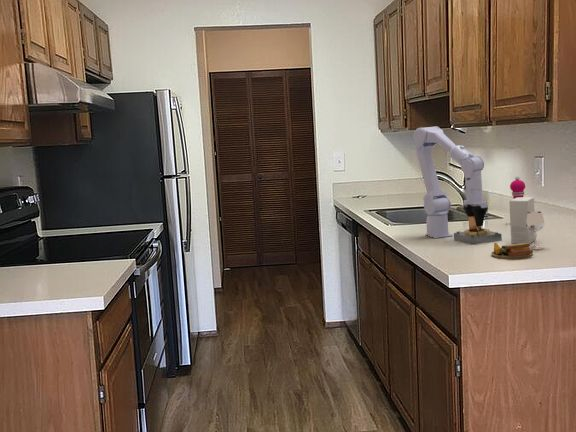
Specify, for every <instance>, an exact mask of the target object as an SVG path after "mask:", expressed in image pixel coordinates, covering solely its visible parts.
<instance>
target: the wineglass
mask: <svg viewBox="0 0 576 432" xmlns="http://www.w3.org/2000/svg"><path fill="white" fill-rule="evenodd" d="M525 224H526V227H527V229H529V230H531V231H534V237H535V241H534V245H533V246H529V249H530V250H541V249H544V247H543V246H540V245H538V244H537V237H538V233H537V232H538V231H541V230H543V228H544V227H545V218H544V214H543V212H542V211H535V210H534V212H527V214H526V220H525Z"/></svg>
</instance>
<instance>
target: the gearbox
mask: <svg viewBox="0 0 576 432" xmlns="http://www.w3.org/2000/svg"><path fill="white" fill-rule="evenodd" d="M481 229H482V231H478V232H471V231H469V228H468V229H466V230H464V231H459V230H458V231H456V232H453V240H454V239H455V241H459V242H461V243H465V244H469V245H476V244H485V243H491V242H494V243H495V242H499V241H500V242H501V241H502V240H503V239H502V237H503V236H502V233H500V232H498V231H492V230H490V229H489V228H484V227H483V228H482V227H481Z"/></svg>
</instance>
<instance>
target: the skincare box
mask: <svg viewBox="0 0 576 432" xmlns="http://www.w3.org/2000/svg"><path fill="white" fill-rule="evenodd" d="M534 211H535V197H534V196H529V197H528V196H523V197H518V198H515V199H513V198H512V199H511V200H509V221H510V223H509V224H510V243H511V244H510V245H512V244H521V243H530V244H531V243H533V242H535V237H534V231H531V230H529V229H527V227H526V224H525V220H526V214H527V212H534Z"/></svg>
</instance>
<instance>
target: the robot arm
mask: <svg viewBox="0 0 576 432" xmlns="http://www.w3.org/2000/svg"><path fill="white" fill-rule="evenodd" d="M412 138H413V141H414V145H415V153H416V157H417V160H418V164H419V168H420V171H421V175H422V179H423V183H424V187H425V191H426V193H425V194H424V196H423V209H424V212H425V213H426V214H427V217H426V220H425V221H426V222H425V223H426V233H425V234H424V235H425V236H426V235H428V236H427V237H429V236H430V237H429V238H432V237H433V239H436V238H437V239H438V238H447V237H454V234H452V233H449V222H448V214H449V211H450V210H451V208H452V202H451V200H450V198H449V197H448V195H447V192H446V191H444V190H443V189H442V188H441V185H440V182H439V177H438V175H437V171H436V166H435V163H434V160H433V156H432V152H431V151H432V150H433V148H434V147H435V146H436V145H439V146H440V147H441V148H443V149H445V150H446V151H447V152H448V153H449V157H450V158H451V159H452V160H454V161H455V162H456V163H457V164H458V165H459V166H460V169H461V171H462V172H463V177H464V178H465V191H466V193H465V194H466V199H464V200H463V211H464V212H465V214H466V216H467V217H468V216H472V215H474V216H475V221H476V226H477V227H479V226H481V227H483V225H484V220H485V216H486V213H487V211H488V202H486V201H485V200H484V199H483V183H482V180H483V179H482V171H483V170H484V168H485V162H484V159H483V158H482V157H481V156H479V155H478V156H477V155H476V156H475V155H474V154H473V153H472V152H470V151H468V150H467V149H466V148H465V147H466V146H465V145H461V144H460V145H456V144H455V143H454V142H453V141H452V140H451V139H450V137H448V136H447V135H446V134H445V133H444V130H443V129H442V128H440V127H439V126H437V125H435V126H428V127H417V128H416V129H415V131H414V133H413V136H412Z"/></svg>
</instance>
